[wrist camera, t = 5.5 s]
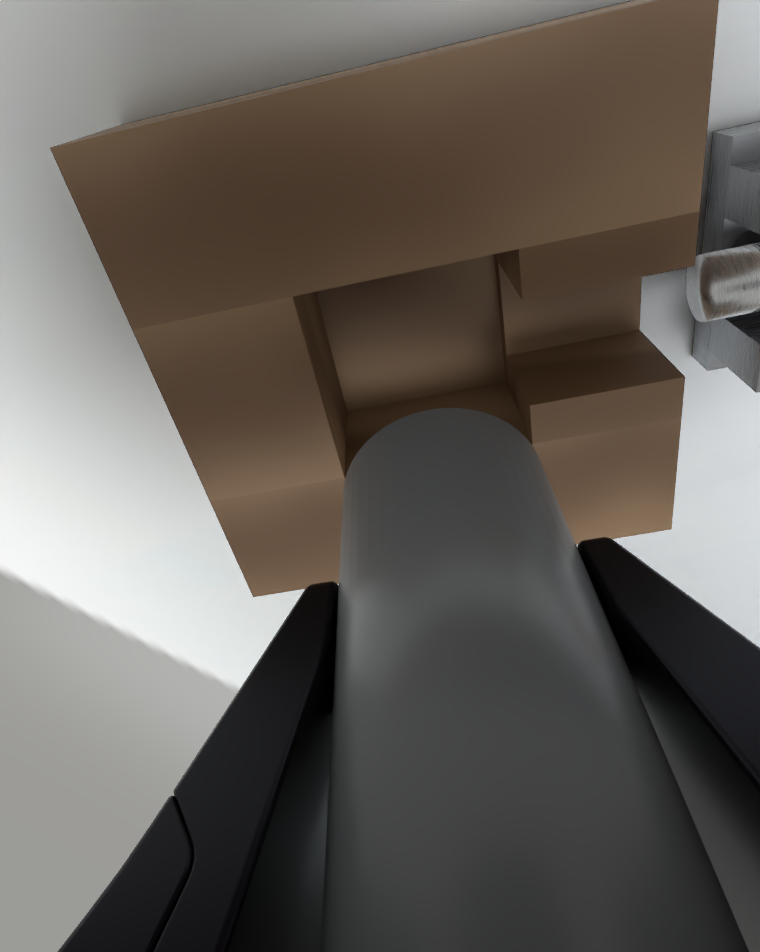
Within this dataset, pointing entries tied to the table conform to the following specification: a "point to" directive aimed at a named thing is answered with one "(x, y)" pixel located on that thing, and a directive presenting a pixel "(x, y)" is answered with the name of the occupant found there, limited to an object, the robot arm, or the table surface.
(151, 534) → the table surface
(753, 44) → the table surface
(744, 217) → the pin mount
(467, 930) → the peg
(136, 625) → the table surface
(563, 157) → the dock
